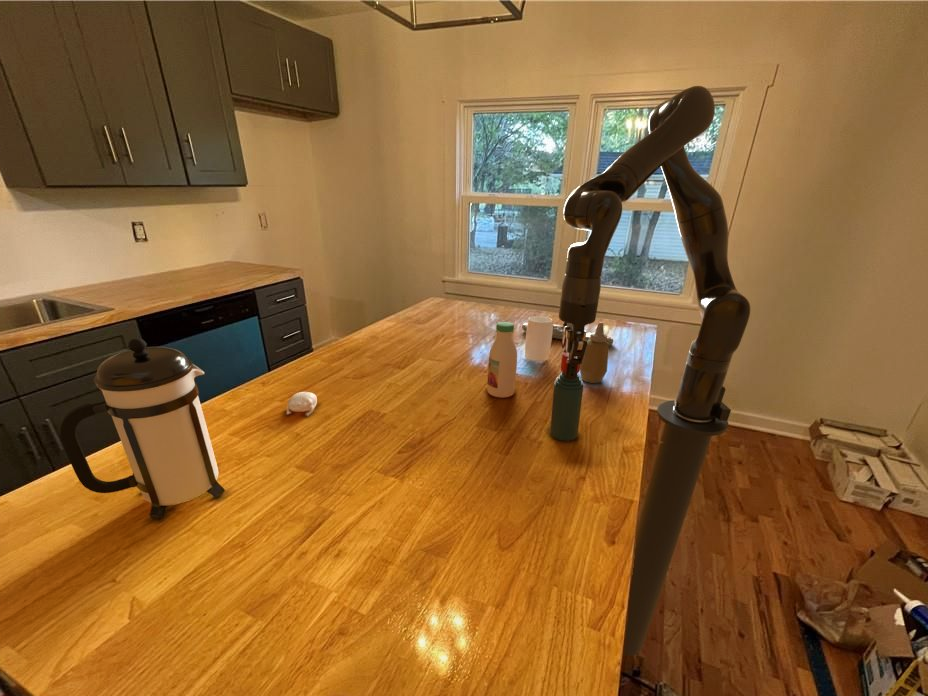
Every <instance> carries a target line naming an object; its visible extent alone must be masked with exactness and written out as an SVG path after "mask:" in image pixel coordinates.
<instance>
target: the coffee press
mask: <svg viewBox="0 0 928 696" xmlns="http://www.w3.org/2000/svg"><path fill="white" fill-rule="evenodd" d="M147 345H148V343H147V342H146V341H145V340H144V339H142V338H139V337H135V338H131V339H130V340H129V342H128V345H127V347H128V348H129V349H130V350H126V351H122V352H119V353H117V354H114V355H112V356H110V357H108V358H107V359H105V360H104V361H103V362H102V363H100V364H99V366H98V368H97V370H96V375H94V378H93V381H94V383H95V386H96V387H97V388H98V389H99V390H100V391H101V392H102V395H103V397H104V398H103V401H99V402H94V403H84V404H82V405H80V406H77V407H75V408H73V409H72V410H70V411H69V412H68V413H67V414H66V415H64V417H63V419H62V421H61V423H60V427H59V435H60V439H61V444H62V446H63V449H64V451H65V455H66V456H67V458H68V460H69V462H70V465H71V467H72V469H73V471H74V473H75V475H76V477H77V479H78V481H79V482H80V484H81V485H82V486H83V487H84V488H85V489H87V490H89V491H90V492H94V493H97V494H110V493H116V492H121V491H125V490H127V489H131V488H137V489H138V490H139V491H140V494H141V496H142V498H143V499H144V500H145V501H146V502H148V503H149V504H151V506H150V512H149V518H150V519H151V520H162V519H163V518H164V516H165V513H166V510H167V508H168V507H169V506H174V505H175V506H176V505H179V504H183V503H186V502H189V501H192V500H194V499H196V498H198V497H201V496H202V495H203V494H205V493H208V494H210V495H211V496H213V498H216V499H218V498H221V497H222V495H224V494H225V492H226V491H225V490H226V489H225V488H224V487H223V486H222V485H221V484H220V483H219V482H218V477H219V468H218V464H217V460H216V456H215V452H214V448H213V445H212V441H211V437H210V434H209V430H208V427H207V422H206V419H205V415H204V411H203V407H202V404H201V400H200V397H199V394H200V392H199V387H198V384H197V381H196V379H195V378H196V377H198V376H203V375H205V371H204V370H202V369H201V367H199V366H197V365H196V364H194V363H193V361H192V360H191V359H190V358H189V357H187V356H186V355H185V353H183V352H182V351H180V350H178V349H175V348H171V347H166V346H147ZM106 412H107V413H108V414H109V415H110V416H111V418H112V421H113V424H114V427H115V429H116V431H117V434H118V437H119V439H120V442H121V445H122V447H123V450H124V452H125V455H126V457H127V460H128V463H129V466H130V469H131V471H132V474H131V475H129V476H127V477H124V478H120V479H116V480H111V481H105V480H101V479H99V478H97V477H96V476H95V475H94V473H93V471H92V469H91V467H90V464H89V462H88V460H87V458H86V456H85V453H84V451H83V449H82V446H81V443H80V442H79V441H80V440H79V439H78V437H77V434H76V429H77V427H78V425H79V424H80V422H81V421H83V420H85V419H86V418H90V417H92V416H95V415H96V414H100V413H101V414H102V413H106Z"/></svg>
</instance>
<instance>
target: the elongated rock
mask: <svg viewBox="0 0 928 696" xmlns="http://www.w3.org/2000/svg"><path fill="white" fill-rule="evenodd" d="M527 324H528V322H525V323H523V324H522V326H521V329H522V330H523V331H524V332H525V333H526V331H527ZM591 333H592V332H590V331H586V339H585V340H584V341H588V340H589V339H590V335H591ZM552 339H557V340H562V339H563V324H554V323H553V332H552ZM606 342H607V343H608V344H609V347H611V346H612V345H613V344H614V338H613V337H611V336H608V335H607V340H606Z"/></svg>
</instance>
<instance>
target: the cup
mask: <svg viewBox="0 0 928 696" xmlns="http://www.w3.org/2000/svg"><path fill="white" fill-rule="evenodd" d="M527 323H528V324H527V331H526V332H525V340H524V341H525V343H524V344H525V345H524V357H525V358H526V359H527V360H529V361H531V362H532V361H533V362H546V361H548V360H549V357H550V354H551V353H550V352H551V348H552V347H551V346H552V341H553V340H552V339H553V338H552V332H553V324H554V320H553V319H552V318H551V317H548V316H545V315H544V316H543V315H532V316H530V317H528V319H527Z"/></svg>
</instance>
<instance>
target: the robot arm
mask: <svg viewBox="0 0 928 696" xmlns="http://www.w3.org/2000/svg"><path fill="white" fill-rule="evenodd" d="M715 115H716V105H715V100H714V97H713V95H712V93H711V92H710V90H709V89H708V88H707V87H705V86H703V85H693V86H690V87H687V88H685V89H683V90H681V91H680V92H678V93H676V94H675V95H672V97H670V98H668V99H666V100H664V101H662V102H661V103H659V104H658V105H656V106H655V107H653V109H652V110H651V112H650V114H649V117H648V118H649V119H648V132H649V133H648V134H647V135H645V136H644V137H642V139H640V140H639V141H637V142H636V143H634V144H633V145H631V146H630V147H629V148H628V149H626V150H625V151H624V152H623V153H621V155H620V156H619V157H618V158H616V160H614V162H613V163H611V165H610V166H608V167H607V168H606V169H605V171H603V172H601V173H600V174H598V175H596V176H594V177H593V178H590V179H589V180H588V181H586V182H584V183H583V184H581V185H579V186H578V187H577V188H576V189H574V190H573V191H572V192H571V193H570V195H569V196H568V198H567V199H566V201H565V203H564V207H563V219H564V221H565V223H566V224H567V225H568V226H569V227H570V228H572V229H576V230H584V231H590V234H589V235H588V238H587V240H586V241H584V242H576V243H573V244H571V245H570V247H569V248H568V251H567V256H566V264H565V272H564V278H563V281H562V286H561V294H560V299H559V300H560V301H559V308H558V319H559V320H560V321H561V322H563V323H562V326H563V339H561V340H562V341H561V349H562V353H563V352H565V351H567V352H568V356H567V366H566V373H565V377H566V379H575V378H576V374H577V367H578V364H582V361H583V357H584V354H585V350H586V347H587V341H584V340H585V339H586V332H587V330H585V326H587V325H591V324H593V323H595V321H596V319H597V314H598V313H597V312H598V308H599V302H600V296H601V295H600V294H601V288H602V286H601V285H602V274H603V269H604V268H603V267H604V263H605V257H606V254H607V252H608V249H609V247H610V244H611V241H612V240H613V237H614V234H616V233H615V232H616V230H617V228H618V226H619V224H620V221H621V218H622V214H623V203H626V202H627V201H629V200H630V198H631V197H633V196H634V195H635V194H636V193H637V191H638V190H640V189H641V187H642V186H643V185H644V184H645V183H646V182H647V181H648V180H649V179H650V178H651V177H652V175H654V174H655V173H656V172H657V171H658V170H659V169H660V168H661V170H662V174H663V176H664V179H665V182H666V186H667V189H668V192H669V196H670V199H671V203H672V207H673V211H674V215H675V220H676V224H677V229H678V232H679V236H680V239H681V242H682V245H683V248H684V251H685V255H686V258H687V261H688V262H689V263H688V264H689V265H690V268H691V270H692V273H693V278H694V284H695V292H696V298H697V299H696V300H697V309H698V313H699V315H700V317H701V319H702V320H701V324H700V327H699V330H698V333H697V336H696V338H695V339H693V340H692V342H691V344H690V347H689V350H688V353H687V358H686V362H685V366H684V369H683V373H682V377H681V380H680V383H679V388H678V391H677V395H676V398H674V400H675V401H674V403H675V405H674V407H673V413H674V415H675V416H677V417H678V418H680V419H682V420H684V421H687V422H690V423H695V424H708V423H710V422H715V421H716V418H717V419H718V420H720V421H728V422H729V417H730V415H731V412H732V409H731V408H730V407H729V406H727V405H726V404H725V403H724V402H723V399H724V396H725V392H726V389H727V388H725V386H724V384H725V380H726V377H727V374H728V372H729V368H730V364H731V362H732V359H733V356H734V354H735V352H736V351H737V350H738V348H739V346H740V345H741V341H742V339H743V337H744V334H745V332H746V328H747V325H748V323H749V319H750V316H751V303H750V301H749V300H748V299H747V297H746V296H745V295H743V294H742V293H740V292H739V291H738V288H736V284H735V282H734V280H733V276H732V272H731V269H730V265H729V259H728V253H729V225H728V220H727V219H728V218H727V215H726V209H725V206H724V202H723V198H722V196H721V195H720V193H719V192H718V191H717V189H716V188H715V187H714V186H712V184H710V182H708V181H707V180H706V179H705V178H704V177H703V176H702V175H700V174H699V173H698V172H697V171H696V170H695V168H694V167H693V165H692V164H691V161H690V160H689V157H688V154H687V151H686V148H685V146H687V144H689V143H691V142H692V141H693V140H695V139H697V138H698V137H699V136H701V135H703V134H704V133H705V132H706V131H707V130H708V129H709V128H710V127H711V125H712V123H713V121H714V117H715ZM574 356H577V358H574Z"/></svg>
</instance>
